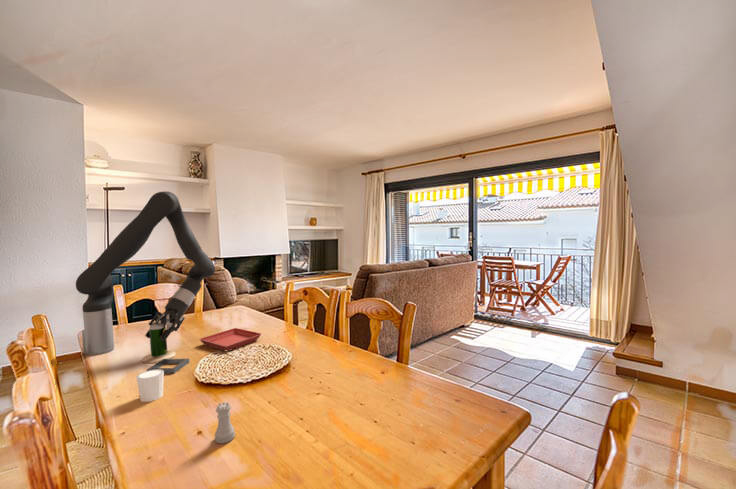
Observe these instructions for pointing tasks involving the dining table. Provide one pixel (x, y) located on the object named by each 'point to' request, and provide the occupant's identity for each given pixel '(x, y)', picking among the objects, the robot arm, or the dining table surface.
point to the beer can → (157, 340)
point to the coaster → (155, 360)
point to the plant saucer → (230, 339)
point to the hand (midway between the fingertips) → (154, 338)
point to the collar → (173, 370)
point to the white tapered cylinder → (150, 385)
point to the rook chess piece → (224, 424)
